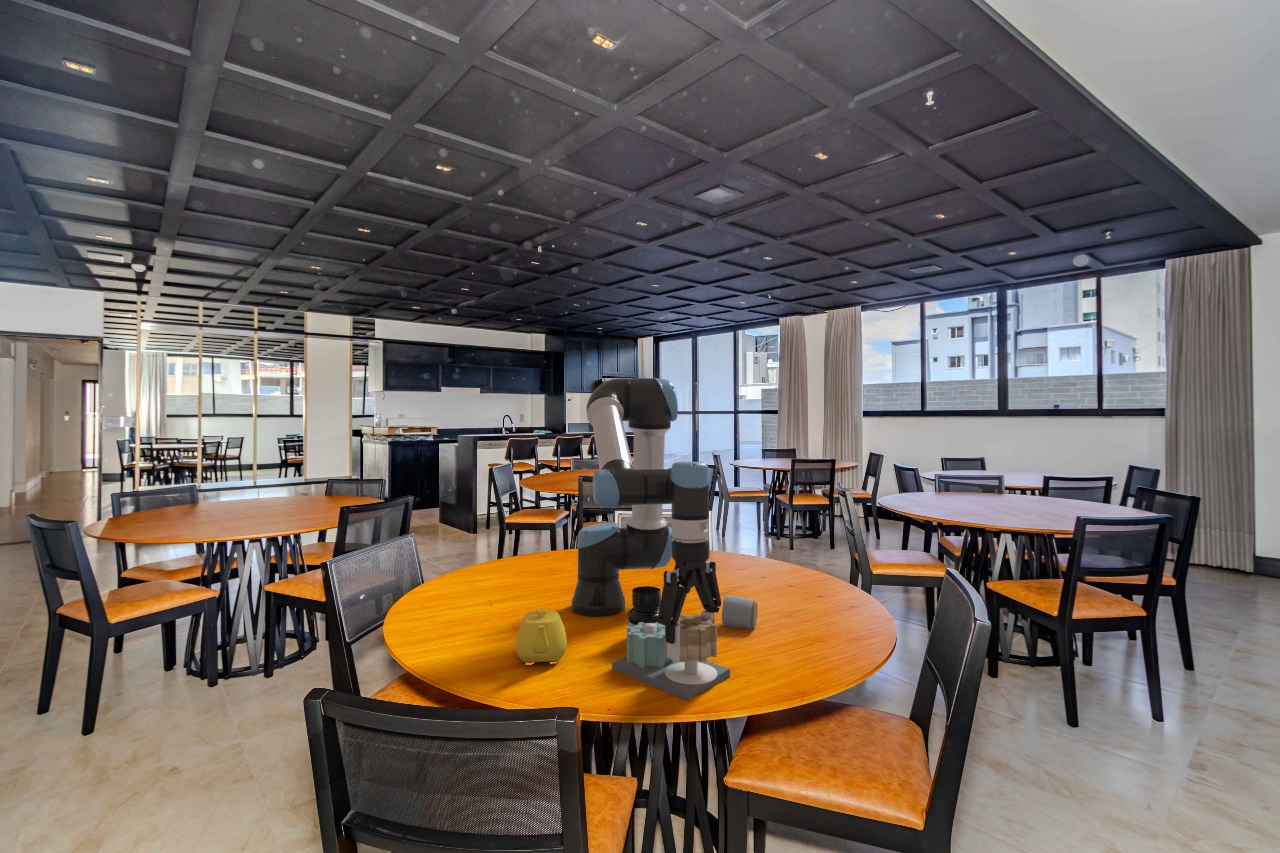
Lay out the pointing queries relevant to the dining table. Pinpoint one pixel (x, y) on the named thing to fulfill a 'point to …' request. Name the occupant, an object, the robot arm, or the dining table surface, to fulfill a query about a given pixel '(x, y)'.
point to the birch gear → (696, 638)
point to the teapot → (541, 637)
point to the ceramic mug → (739, 612)
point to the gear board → (665, 664)
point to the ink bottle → (644, 605)
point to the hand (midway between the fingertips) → (691, 651)
